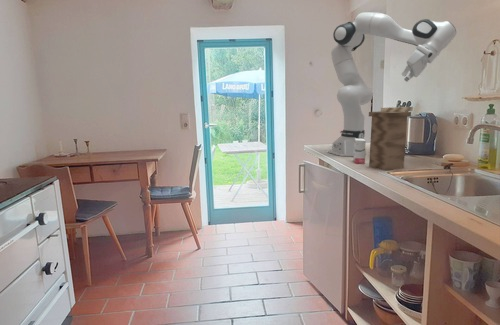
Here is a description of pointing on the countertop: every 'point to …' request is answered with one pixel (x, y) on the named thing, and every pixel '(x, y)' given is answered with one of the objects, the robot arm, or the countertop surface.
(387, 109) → the stick
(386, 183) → the countertop surface
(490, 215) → the countertop surface
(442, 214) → the countertop surface
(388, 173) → the countertop surface
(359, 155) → the ink box
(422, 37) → the robot arm
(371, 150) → the wooden canister
